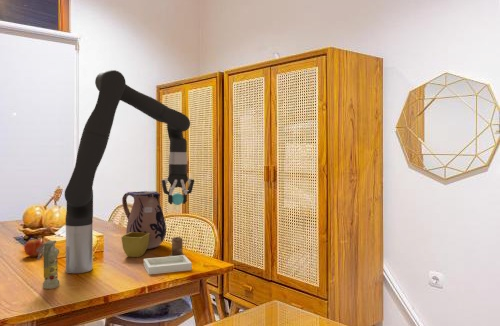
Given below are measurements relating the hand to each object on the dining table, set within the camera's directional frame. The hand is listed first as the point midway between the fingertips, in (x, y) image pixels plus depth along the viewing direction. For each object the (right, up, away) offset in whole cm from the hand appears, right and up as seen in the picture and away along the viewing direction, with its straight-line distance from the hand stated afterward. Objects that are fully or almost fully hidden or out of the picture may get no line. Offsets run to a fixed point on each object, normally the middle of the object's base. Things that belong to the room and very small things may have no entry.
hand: (177, 203), depth 175 cm
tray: (-1, -23, -15) cm, 27 cm away
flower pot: (-18, -22, +1) cm, 28 cm away
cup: (0, -22, +1) cm, 22 cm away
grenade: (-36, -24, -38) cm, 57 cm away
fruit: (-59, -22, -2) cm, 63 cm away
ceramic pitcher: (-19, -21, +16) cm, 33 cm away
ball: (0, +2, 0) cm, 2 cm away
